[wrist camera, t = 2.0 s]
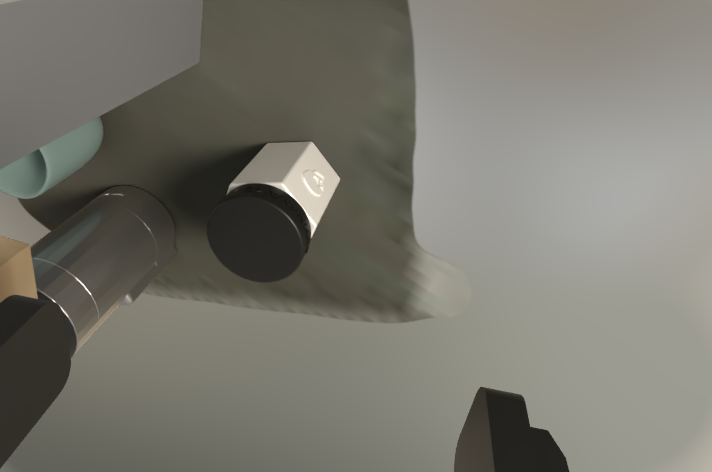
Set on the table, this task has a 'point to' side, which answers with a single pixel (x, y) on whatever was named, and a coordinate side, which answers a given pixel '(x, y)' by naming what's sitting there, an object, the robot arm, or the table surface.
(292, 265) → the jar
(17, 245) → the tan wooden bar piece
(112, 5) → the stand
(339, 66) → the table surface
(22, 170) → the cup
